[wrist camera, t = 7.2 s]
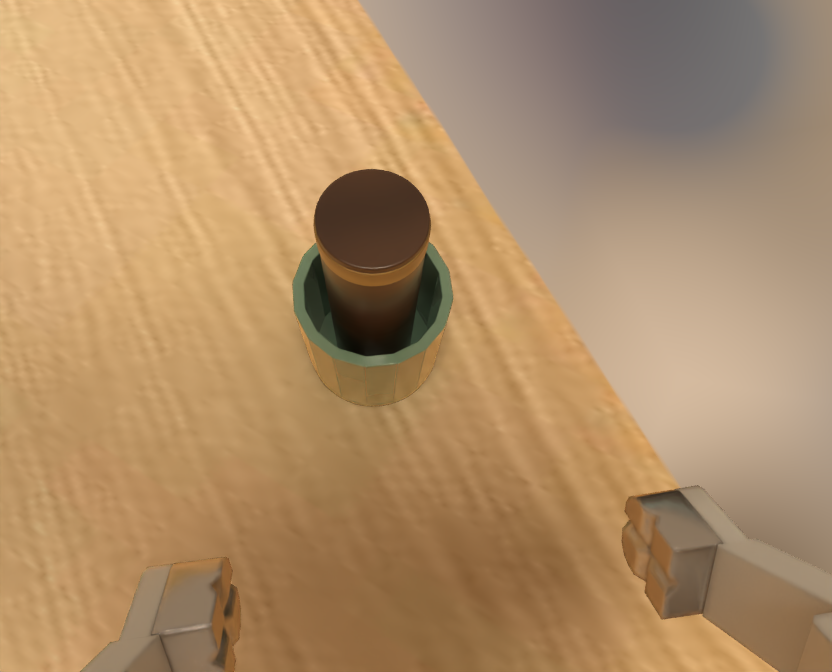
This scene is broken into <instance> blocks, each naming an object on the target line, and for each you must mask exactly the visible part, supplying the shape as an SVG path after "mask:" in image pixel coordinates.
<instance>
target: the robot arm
mask: <svg viewBox="0 0 832 672" xmlns="http://www.w3.org/2000/svg"><path fill="white" fill-rule="evenodd" d="M625 513H626V515H627V516H628V518H629V519H630V520H629V521H628V522H627V524H626V525H625V526H624V527H623V528H622V546H623V552H624V556H625V558H626V561H627V563H628V565H629V567H630V569H631V570H632V572H633V574H634V575H636V576H637V577H639V578H641V579H642V580H644V581H646V586H645V594H646V595H647V597H648V598H649V600H650V602H651V603H652V605H653V607H654V608H655V610H656V611H657V613H658V615H659V616H660V618H661V619H669V618H676V617H683V616H690V615H697V614H703V617H705V618H706V619H707V620H709V621H710V622H712V623H713V624H714V625H716V626H717V627H718V628H720V629H721V630H723V631H724V632H725V633H727V634H728V635H729V636H731V637H732V638H734V639H735V640H736V641H738V642H739V643H740V644H742V645H743V646H745V647H746V648H747V649H749V650H750V651H751V652H753V653H754V654H756V655H757V656H758V657H760V658H761V659H762V660H764V661H765V662H767V663H768V664H769V665H771V666H772V667H773V668H775V669H776V670H778V671H779V672H832V574H830V573H828V572H826V571H824V570H822V569H820V568H817V567H815V566H813V565H811V564H809V563H807V562H805V561H803V560H801V559H799V558H796V557H794V556H792V555H790V554H788V553H786V552H784V551H782V550H779V549H777V548H775V547H773V546H771V545H769V544H767V543H765V542H762V541H760V540H758V539H751V540H750V539H749V538H748V537H747V536H746V535H745V534H744V533H743V532H742V531H741V529H740V528H739V527H738V526H737V525H736V524H735V523H734V522H733V521H732V520H731V519H730V517H729V516H728V515H727V514H726V513H725V512H724V511H723V509H722V508H721V507H720V506H719V505H718V504H717V503H716V502H715V501H714V500H713V498H712V497H711V496H710V495H709V494H708V493H707V492H706V491H705V490H704V489H703V488H702V487H700V486H691V487H685V488H679V489H675V490H668V491H661V492H655V493H649V494H642V495H636V496H630V497H629V498H628V499H627V501H626V505H625ZM232 572H233V570H232V567H231V564H230V560H229V558H227V557H220V558H212V559H204V560H196V561H188V562H180V563H174V564H169V565H161V566H152V567H147V568H146V569H145V571H144V572H143V573H142V575H141V578H140V580H139V583H138V586H137V589H136V592H135V595H134V598H133V600H132V603H131V606H130V609H129V612H128V615H127V618H126V620H125V623H124V626H123V629H122V632H121V635H120V638H119V640H118V641H115V642H110V643H109V644H108V645H107V646H106V647H105V648H104V649H103V650H102V651H101V652H100V653H99V654H98V655H96V656H95V657H94V658H93V659H92V660H91V661H90V662H89V663H88V664H87V665H86V666H85V667H84V668H83V669H82V670H81V671H80V672H234V671H235V664H236V658H235V654H234V651H233V646H234V644H235V643H236V642H237V641H238V640H239V635H240V627H241V606H240V598H239V594H238V590H237V587H235V586H234V585H232V584H231V579H232Z"/></svg>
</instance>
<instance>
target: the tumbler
mask: <svg viewBox="0 0 832 672" xmlns="http://www.w3.org/2000/svg"><path fill="white" fill-rule="evenodd" d="M292 285H293V304H294V312H295V316H296V319H297V322H298V325H299V328H300V330H301V333H302V336H303V339H304V342H305V345H306V348H307V351H308V354H309V357H310V360H311V362H312V364H313V366H314V368H315V370H316V372H317V374H318V376H319V378H320V379H321V381H322V382H323V383H324V384H325V386H326V387H327V388H328V389H329V390H331V391H332V392H333V393H334V394H336V395H337V396H339V397H340V398H342V399H344V400H346V401H348V402H351V403H354V404H358V405H362V406H384V405H389V404H392V403H396V402H398V401H400V400H403V399H405V398H406V397H408V396H410V395H411V394H412V393H414V392H415V391H416V390H417V389H418V388H419V387H420V386H421V385H422V384H423V383H424V381H425V380H426V379H427V377H428V375H429V374H430V372H431V371H432V369H433V365H434V362H435V359H436V356H437V352H438V349H439V346H440V343H441V339H442V336H443V333H444V330H445V327H446V323H447V320H448V316H449V313H450V309H451V306H452V302H453V292H452V285H451V279H450V272H449V269H448V267H447V266H446V264H445V263H444V261H443V259H442V258H441V256H440V255H439V253H438V251H437V250H436V248H435V247H434V246H433V245H432V244H431V243H428V247H427V251H426V254H425V259H424V265H423V271H422V277H421V283H420V289H419V295H418V301H417V307H416V313H415V319H414V325H413V331H412V337H411V343H410V346H408V347H406V348H404V349H402V350H400V351H398V352H396V353H394V354H385V355H374V356H363V355H360V354H356V353H353V352H349V351H346V350H343V349H339V348H338V347H337V342H336V337H335V331H334V326H333V321H332V315H331V310H330V305H329V299H328V294H327V289H326V283H325V278H324V273H323V268H322V262H321V257H320V253H319V251H318V247H317V243H315V244H314V245H313V246H312V247H311V248H310V249H309V250H308V251H307V252H306V253H305V254H304V256H303V257H302V260H301V262H300V265H299V267H298V270H297V272H296V275H295V277H294V280H293V284H292Z"/></svg>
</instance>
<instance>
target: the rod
mask: <svg viewBox="0 0 832 672" xmlns="http://www.w3.org/2000/svg"><path fill="white" fill-rule="evenodd" d="M430 230H431V220H430V214H429V209H428V206H427V203H426V201H425V199H424V197H423V196H422V194H421V193H420V192H419V190H418V189H417V188H416V187H415V186H414V185H413V184H412V183H410V182H409V181H408V180H406V179H405V178H403V177H401V176H399V175H397V174H395V173H392V172H389V171H384V170H377V169H366V170H359V171H355V172H351V173H348V174H346V175H344V176H342V177H340V178H338V179H337V180H335V181H334V182H333V183H332V184H330V185H329V186H328V187H327V189H326V190H325V191H324V192H323V194H322V195H321V197H320V199H319V201H318V203H317V206H316V209H315V215H314V233H315V238H316V243H317V247H318V251H319V253H320V257H321V262H322V268H323V273H324V278H325V283H326V289H327V294H328V299H329V305H330V310H331V315H332V321H333V326H334V331H335V337H336V342H337V347H338V348H339V349H343V350H346V351H349V352H353V353H356V354H360V355H363V356H374V355H385V354H394V353H396V352H398V351H400V350H402V349H404V348H406V347H408V346H410V343H411V337H412V331H413V325H414V319H415V313H416V307H417V301H418V295H419V289H420V283H421V277H422V271H423V265H424V259H425V254H426V251H427V247H428V243H429V237H430Z"/></svg>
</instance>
